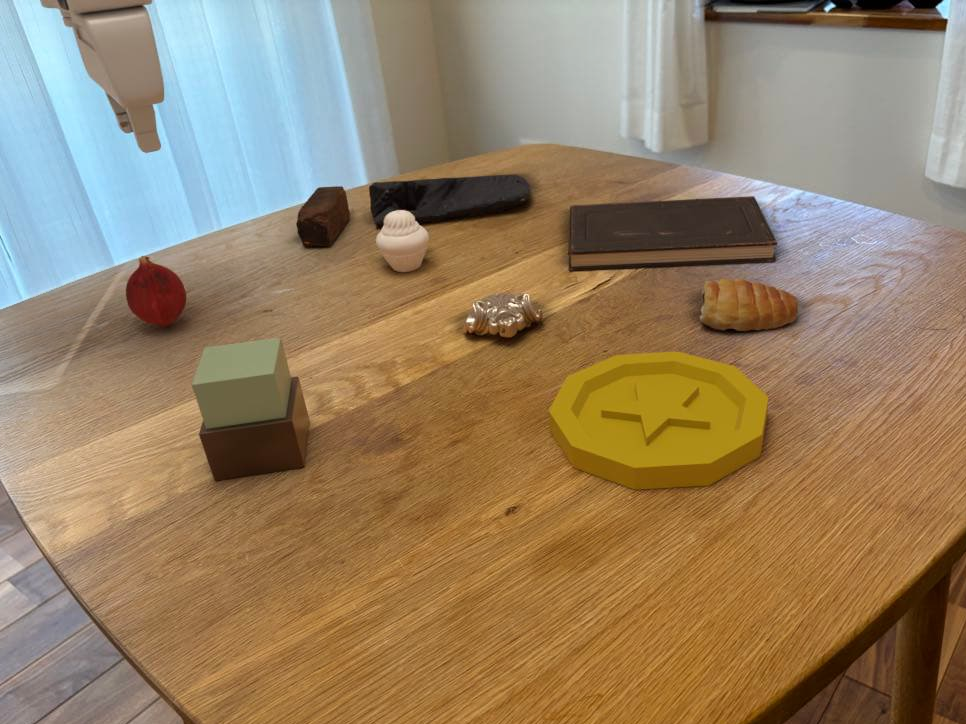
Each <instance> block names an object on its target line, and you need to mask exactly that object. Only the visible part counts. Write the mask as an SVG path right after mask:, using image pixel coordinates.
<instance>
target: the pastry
mask: <svg viewBox="0 0 966 724" xmlns="http://www.w3.org/2000/svg"><path fill="white" fill-rule="evenodd" d="M703 285H704V286H703V288H702V292H701V300H702V303H703V304H702V306H701V308H700V313H701V315H700V316H699V320H700V322H701V323H703V324H704V325H706V326H707V327H710V328H711V329H713V330H719V331H726V330H728V329H733V330H735V331H736V332H748V331H751V330H754V331H757V332H759V331H760V330H765V331H767V330H771V329H777V328H780V327H783V326H784V325H787V324H791V323H794V322H795V320H796V319H797V318H798V315H799V307H798V304H799V299H798V298H797V297H796V296H795V295H793V294H791V293H790V292H788V291H786V290H783V289H777V288H776V287H774V286H772V285H765V284H763V283H761V282H750V281H749V280H747V279H745V278H739V279H737V280H733V279H730V278H726V277H724V278H721V279H719V281H715V280H705V281H704V284H703Z"/></svg>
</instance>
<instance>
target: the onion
mask: <svg viewBox="0 0 966 724" xmlns="http://www.w3.org/2000/svg"><path fill="white" fill-rule="evenodd" d="M138 261H139V265H138V267H137V268H136V269H135V270H134V271H133V273H132V274H130V276H129V278H128V280H127V282H126V287H125V298H126V303H127V306H128V308H129V309H130V311H131V313H132V314H134V315H135V316H136V317H137V318H138V319H139V320H141V321H143V322H144V323H147V324H149V325H153V326H156V327H159V328H163V329H164V328H169V327H170V326H172V324H173V323H174V322H175V321H176V320H178V318H180V316H181V315H182V313H183V311H184V309H185V306H186V304H187V291H186V288H185V284H184V283H183V281H182V280H181V278H180V276H178V274H177V273H176V272H174V271H173V270H172V269H170V268H168V267H166V266H164V265H162V264H159V263H155V262H153V261H151V259H150V257H149V256H147V255H141V256H140V257H139V258H138Z"/></svg>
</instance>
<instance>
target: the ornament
mask: <svg viewBox="0 0 966 724" xmlns="http://www.w3.org/2000/svg"><path fill="white" fill-rule="evenodd" d="M471 305H472V308H471V310H469V313H468V314H467V316H466V319H465V321H464V323H463V326H462V331H463V333H464V334H468V333H469V334H474V333H475V335H477V336H480V337H481V336H485V335H486V334H488V333H489V334H490V335H493V336H496V335H498V334H499V336H500V337H502V338H512V337H514V336H516V335H517V334H518V332H521V331H522V330H523V329H525V328H528V329H529V328H530V327H531V326H532V323H539V322H540V321H542V320H543V318H544V314H543V310H542V309H541V308H539V309H538V310H535V309H534V308H533V305H532V300H531V296H530V294H529V293H527V292H526V293H517V294H515V295H514V294H512V293H503V292H500V293H498V294H490V295H488V296H487V297H483V298H482V299H480V300H479V299H477V300H475V301H473V302H472V304H471Z"/></svg>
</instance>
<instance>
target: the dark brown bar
mask: <svg viewBox="0 0 966 724" xmlns="http://www.w3.org/2000/svg"><path fill="white" fill-rule="evenodd" d="M296 218H297V220H296V223H295V224H296V228H297V234H298V238H299V239H300V242H301V243H302V245H303V246H304V247H305V248H311V247H313V246H320V247H327V246H330V245H331V244H333V243H334V242H335V240H336V239H338V237H339V235H340V233H341V232H342V230H343V229H344V228H345V227H346V225H347V224H348V222H349V221H350V218H351V213H350V209H349V202H348V196H347V192H346V190H345V188H344V186H337V185H335V186H321V187H320V186H319V187H317V188H315V190H314V192H313V193H312V194H311V195H310V196H309V198H308V199H307V201H305V203H304V204H303V205H302V206H301V208H300V209H299V211H298V212H297V216H296Z"/></svg>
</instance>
